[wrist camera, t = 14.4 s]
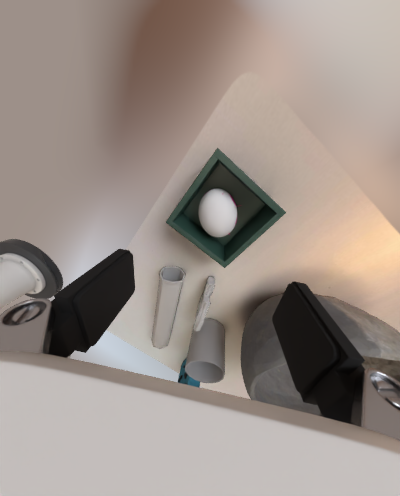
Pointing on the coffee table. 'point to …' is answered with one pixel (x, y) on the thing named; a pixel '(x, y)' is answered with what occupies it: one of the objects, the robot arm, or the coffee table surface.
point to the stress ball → (217, 212)
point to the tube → (166, 304)
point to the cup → (207, 353)
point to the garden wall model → (204, 304)
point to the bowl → (274, 363)
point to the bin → (248, 214)
